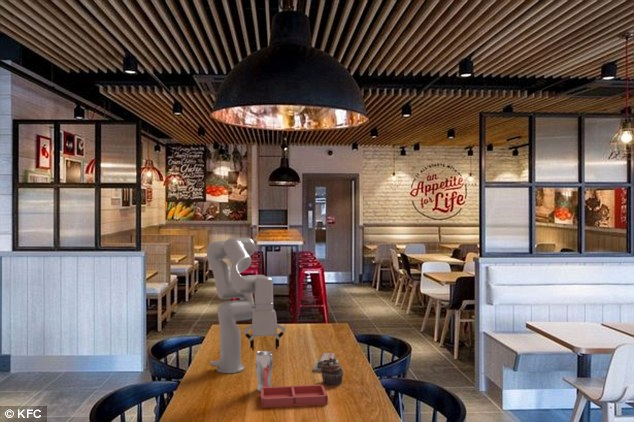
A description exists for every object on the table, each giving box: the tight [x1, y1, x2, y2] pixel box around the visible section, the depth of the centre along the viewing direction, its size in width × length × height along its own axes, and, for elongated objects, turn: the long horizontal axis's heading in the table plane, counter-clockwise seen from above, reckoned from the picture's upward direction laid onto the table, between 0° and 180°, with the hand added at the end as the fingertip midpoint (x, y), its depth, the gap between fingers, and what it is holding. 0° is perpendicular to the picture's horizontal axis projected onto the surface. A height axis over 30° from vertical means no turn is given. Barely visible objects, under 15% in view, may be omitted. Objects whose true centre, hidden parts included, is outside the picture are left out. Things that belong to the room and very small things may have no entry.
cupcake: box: [320, 358, 344, 387], centre depth 223 cm, size 10×10×10 cm
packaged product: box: [312, 352, 340, 373], centre depth 247 cm, size 18×5×10 cm
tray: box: [260, 384, 329, 409], centre depth 203 cm, size 25×13×3 cm, turn 97°
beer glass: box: [255, 350, 274, 393], centre depth 215 cm, size 7×7×15 cm
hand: (264, 349), depth 214 cm, fingers open, 9 cm apart
